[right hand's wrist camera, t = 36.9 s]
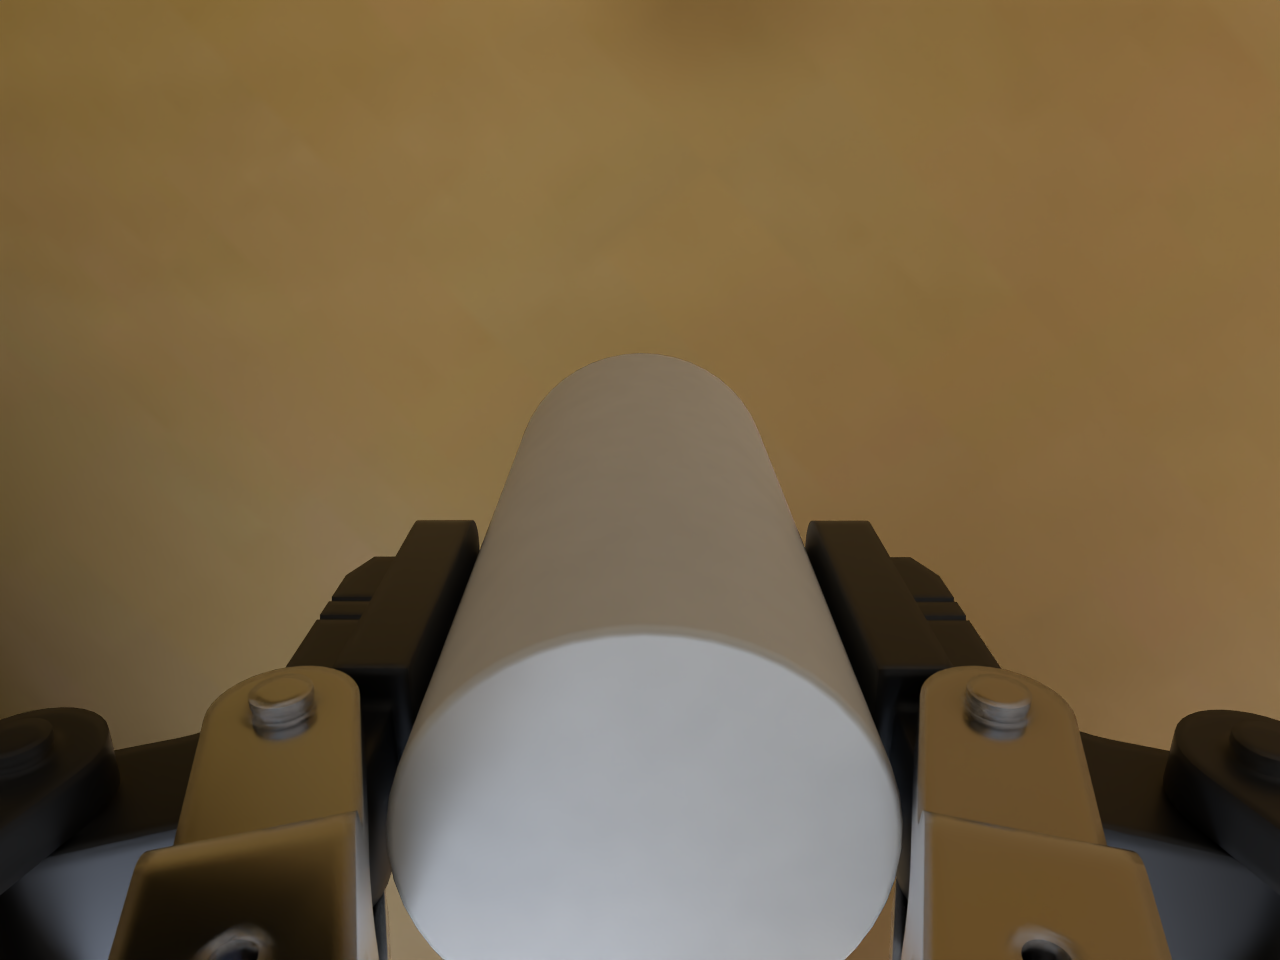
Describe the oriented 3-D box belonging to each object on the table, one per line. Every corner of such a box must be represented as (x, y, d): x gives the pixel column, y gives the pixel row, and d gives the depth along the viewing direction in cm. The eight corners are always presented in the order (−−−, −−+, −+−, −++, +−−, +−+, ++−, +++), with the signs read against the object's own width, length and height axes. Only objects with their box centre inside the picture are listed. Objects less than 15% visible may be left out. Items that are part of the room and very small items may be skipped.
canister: (753, 335, 15) (895, 595, 7) (774, 567, 17) (912, 1014, 8) (497, 369, 15) (324, 664, 7) (542, 595, 17) (443, 1060, 8)
